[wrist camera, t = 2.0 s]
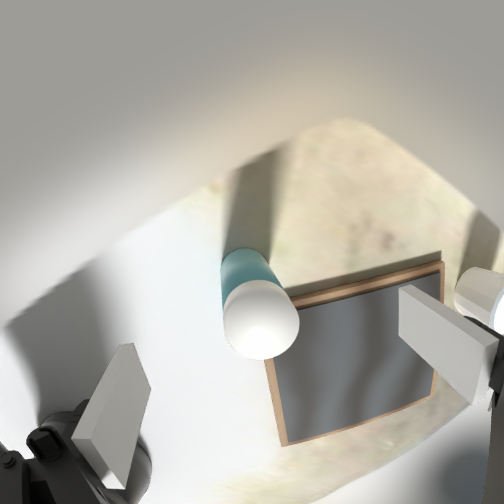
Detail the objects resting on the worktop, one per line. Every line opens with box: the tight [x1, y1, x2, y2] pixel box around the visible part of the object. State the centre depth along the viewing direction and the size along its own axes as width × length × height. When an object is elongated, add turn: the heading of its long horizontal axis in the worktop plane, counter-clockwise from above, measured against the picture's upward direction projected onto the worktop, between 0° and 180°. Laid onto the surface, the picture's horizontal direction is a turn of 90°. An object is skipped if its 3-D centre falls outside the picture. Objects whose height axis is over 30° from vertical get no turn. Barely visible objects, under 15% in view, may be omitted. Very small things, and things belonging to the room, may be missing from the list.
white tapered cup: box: [454, 267, 504, 336], centre depth 27 cm, size 7×7×7 cm
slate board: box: [264, 260, 445, 447], centre depth 30 cm, size 20×18×1 cm
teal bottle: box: [221, 248, 299, 360], centre depth 22 cm, size 4×4×11 cm
